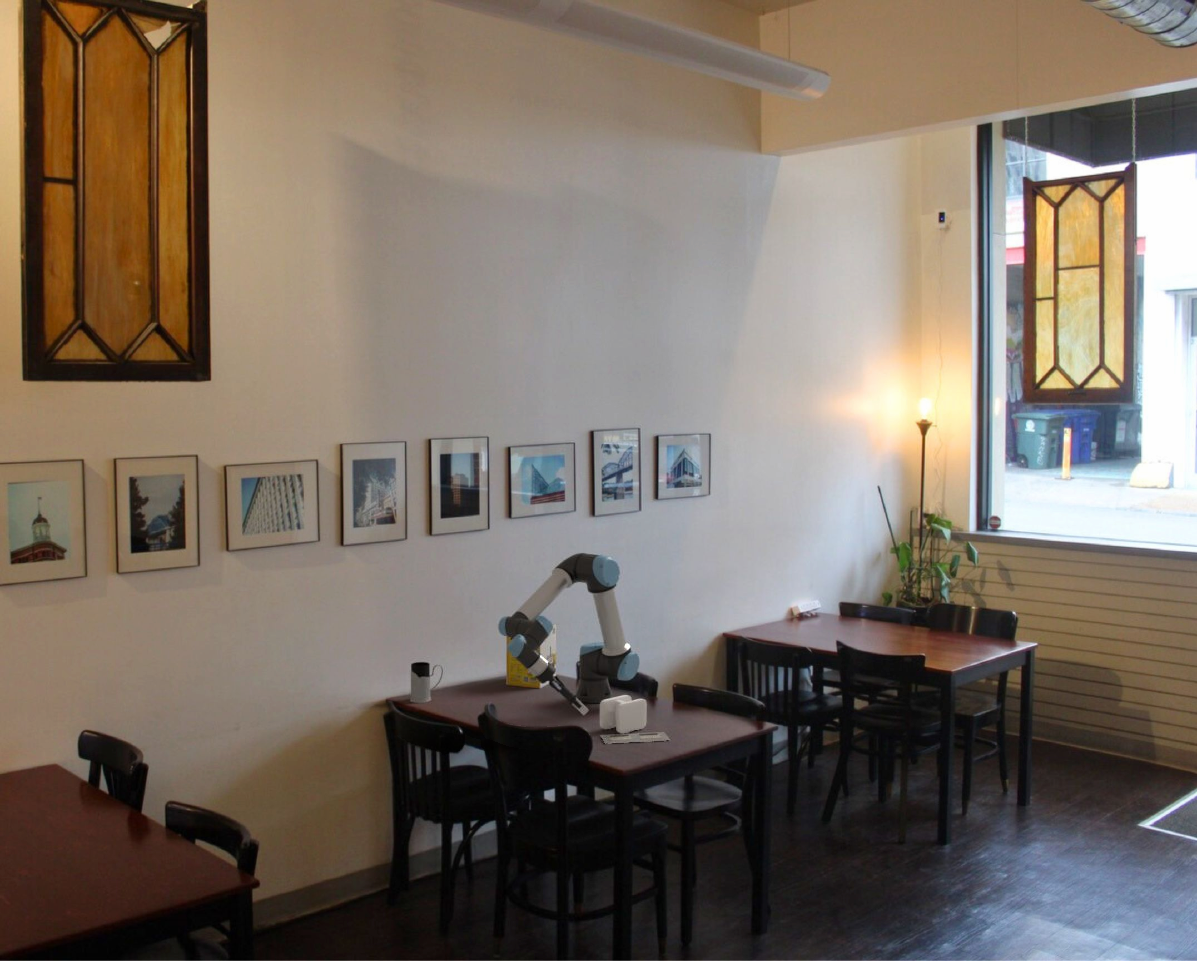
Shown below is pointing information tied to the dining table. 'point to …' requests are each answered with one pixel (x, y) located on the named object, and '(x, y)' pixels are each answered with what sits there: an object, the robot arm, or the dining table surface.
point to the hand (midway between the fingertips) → (585, 712)
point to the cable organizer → (623, 714)
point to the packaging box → (519, 673)
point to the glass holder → (421, 682)
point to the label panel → (634, 737)
